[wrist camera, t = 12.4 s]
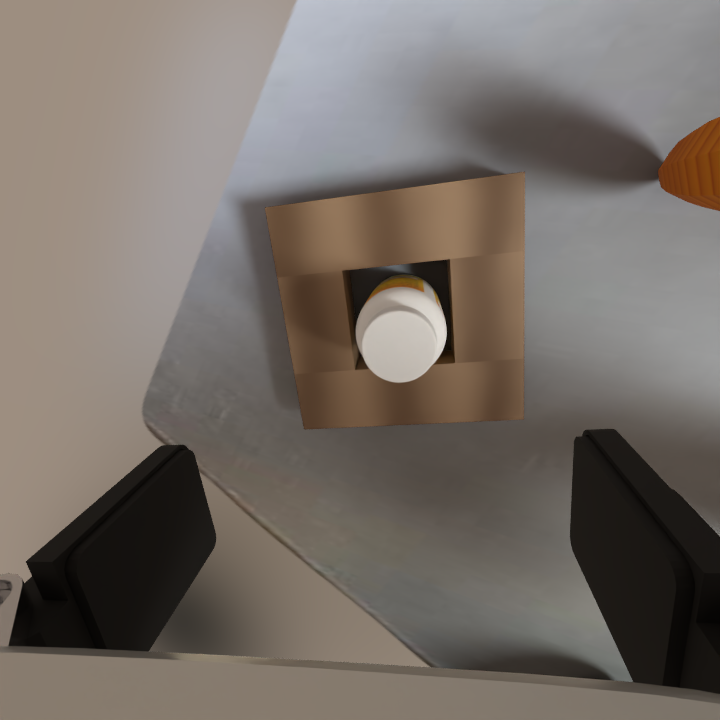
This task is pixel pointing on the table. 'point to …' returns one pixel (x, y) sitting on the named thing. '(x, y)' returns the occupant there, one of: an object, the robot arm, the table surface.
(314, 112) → the table surface
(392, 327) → the supplement bottle
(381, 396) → the bore block
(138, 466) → the robot arm
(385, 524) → the table surface
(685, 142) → the carrot
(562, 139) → the table surface
